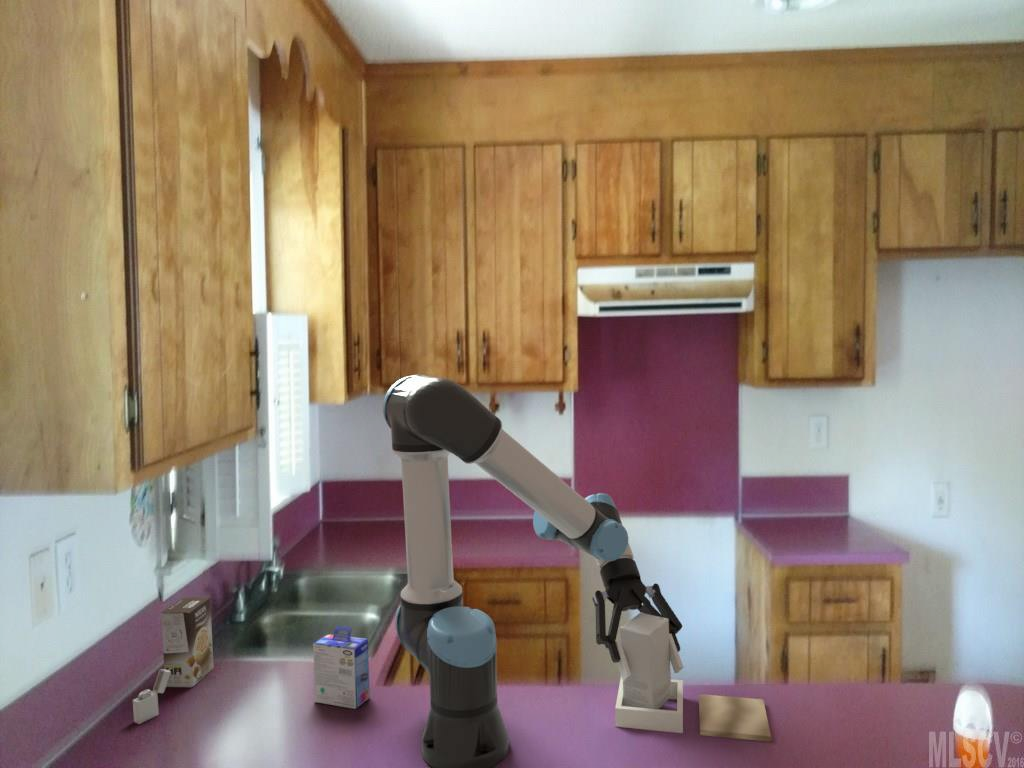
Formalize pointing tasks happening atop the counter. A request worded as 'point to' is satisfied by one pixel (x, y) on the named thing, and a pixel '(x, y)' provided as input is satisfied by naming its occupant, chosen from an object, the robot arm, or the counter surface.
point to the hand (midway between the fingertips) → (653, 674)
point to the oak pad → (733, 717)
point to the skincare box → (647, 661)
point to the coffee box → (187, 641)
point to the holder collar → (651, 713)
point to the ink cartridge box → (341, 669)
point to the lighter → (150, 699)
